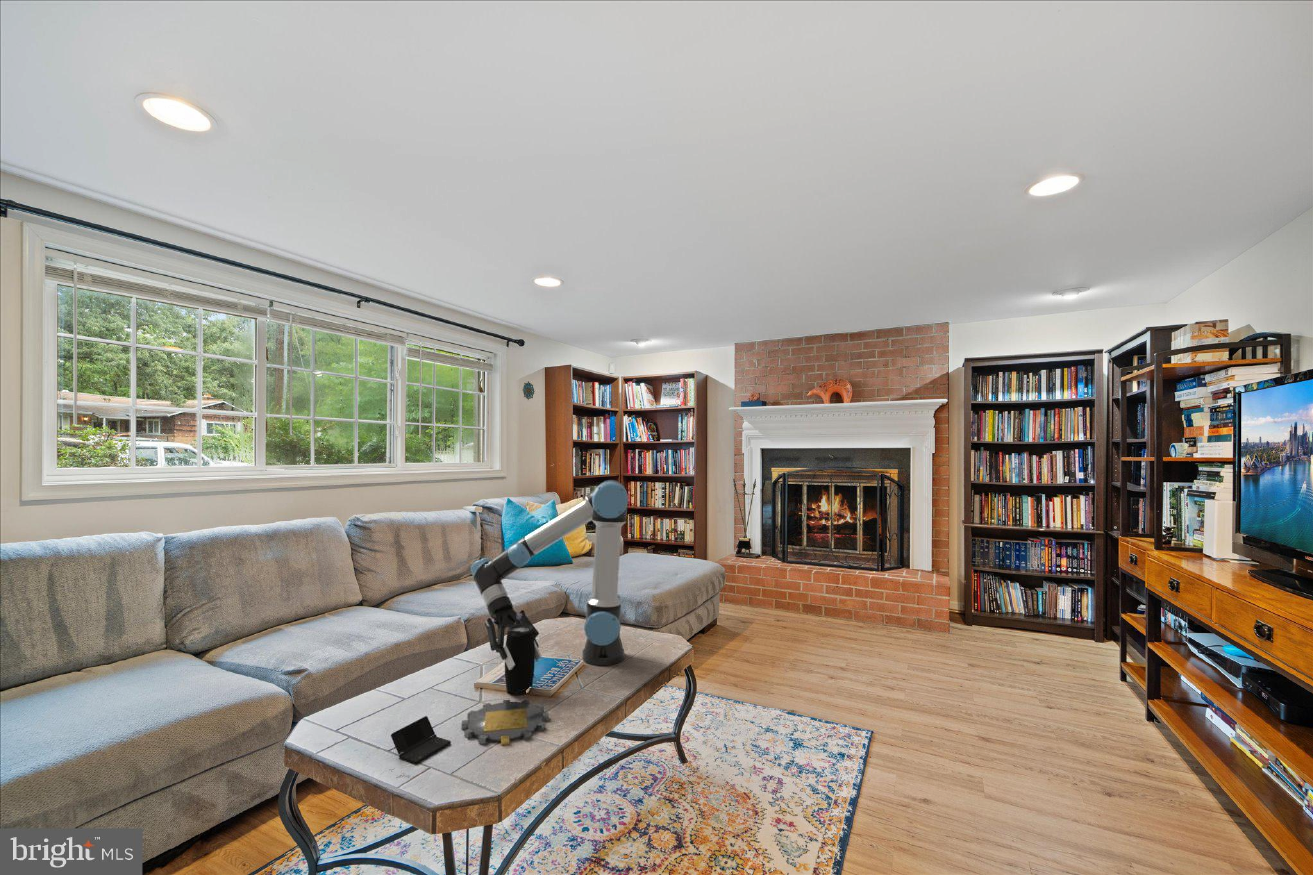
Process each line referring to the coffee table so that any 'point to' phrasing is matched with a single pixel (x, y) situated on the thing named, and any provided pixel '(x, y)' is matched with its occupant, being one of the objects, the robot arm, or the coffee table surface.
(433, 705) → the coffee table surface
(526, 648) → the portable speaker
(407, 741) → the handheld gaming console
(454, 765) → the coffee table surface
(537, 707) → the sprocket plate
